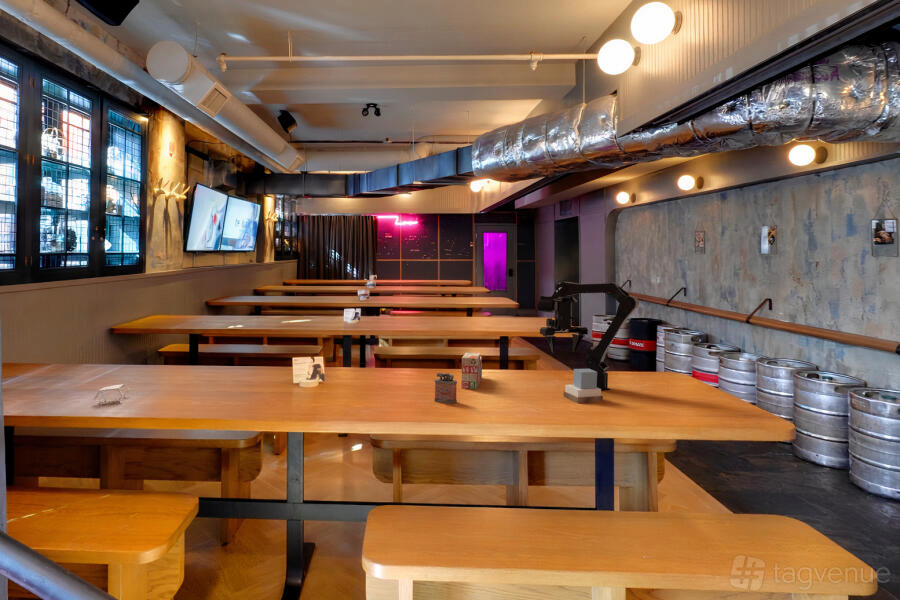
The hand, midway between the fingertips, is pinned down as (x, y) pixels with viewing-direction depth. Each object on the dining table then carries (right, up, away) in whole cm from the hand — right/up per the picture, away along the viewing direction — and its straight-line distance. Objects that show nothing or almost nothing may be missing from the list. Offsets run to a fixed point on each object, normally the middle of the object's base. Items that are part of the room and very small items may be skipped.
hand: (563, 352), depth 214 cm
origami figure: (-159, -14, -31) cm, 163 cm away
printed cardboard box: (-36, -13, +2) cm, 39 cm away
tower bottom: (+2, -15, -22) cm, 27 cm away
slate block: (+3, -10, -23) cm, 25 cm away
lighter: (-47, -15, -28) cm, 57 cm away
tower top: (+2, -13, -22) cm, 26 cm away
